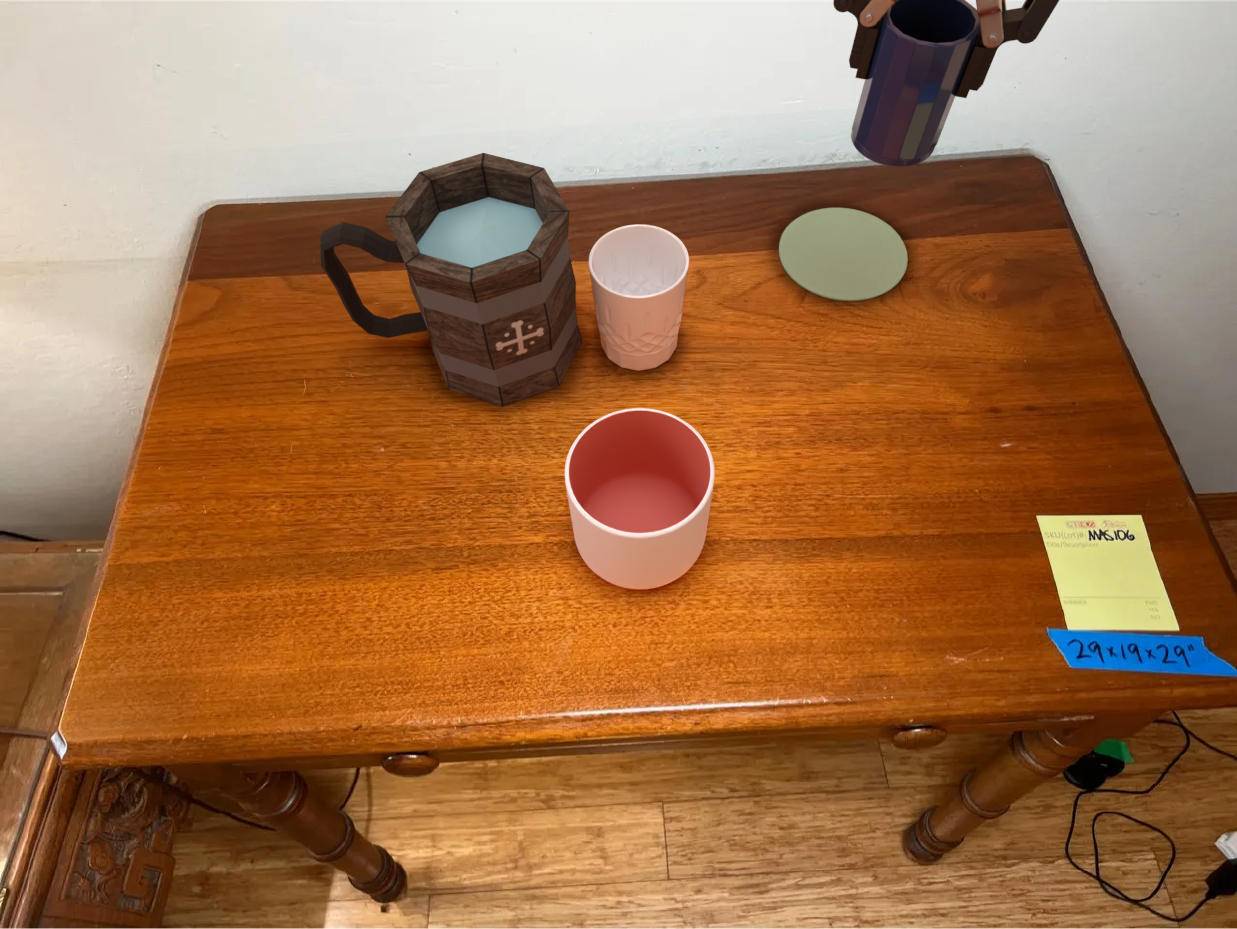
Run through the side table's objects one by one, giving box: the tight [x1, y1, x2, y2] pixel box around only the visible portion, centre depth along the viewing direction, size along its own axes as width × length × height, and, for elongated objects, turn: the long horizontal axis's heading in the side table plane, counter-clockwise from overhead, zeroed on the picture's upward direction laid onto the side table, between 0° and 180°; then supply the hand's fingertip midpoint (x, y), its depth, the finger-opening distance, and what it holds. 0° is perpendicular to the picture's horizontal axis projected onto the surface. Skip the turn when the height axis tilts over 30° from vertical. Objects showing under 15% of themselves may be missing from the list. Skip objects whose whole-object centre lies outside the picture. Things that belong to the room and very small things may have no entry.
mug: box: [319, 152, 583, 408], centre depth 66 cm, size 20×14×15 cm
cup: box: [564, 407, 716, 590], centre depth 58 cm, size 10×10×10 cm
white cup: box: [588, 223, 690, 372], centre depth 68 cm, size 8×8×10 cm
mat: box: [778, 207, 909, 302], centre depth 77 cm, size 12×12×1 cm
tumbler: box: [850, 0, 981, 168], centre depth 55 cm, size 6×6×9 cm
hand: (912, 80), depth 55 cm, fingers closed on tumbler, 6 cm apart
